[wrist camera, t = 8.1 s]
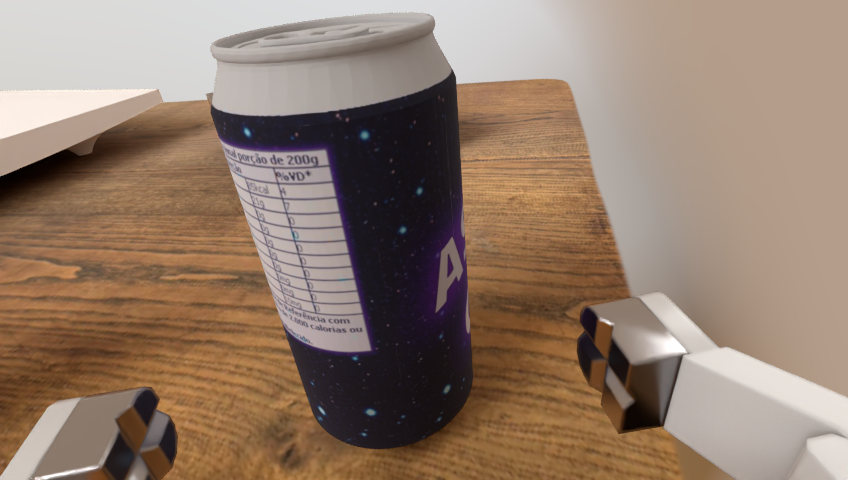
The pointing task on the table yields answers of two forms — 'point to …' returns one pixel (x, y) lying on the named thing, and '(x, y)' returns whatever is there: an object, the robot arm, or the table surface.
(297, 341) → the beverage can
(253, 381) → the table surface
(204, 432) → the table surface
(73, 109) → the board
